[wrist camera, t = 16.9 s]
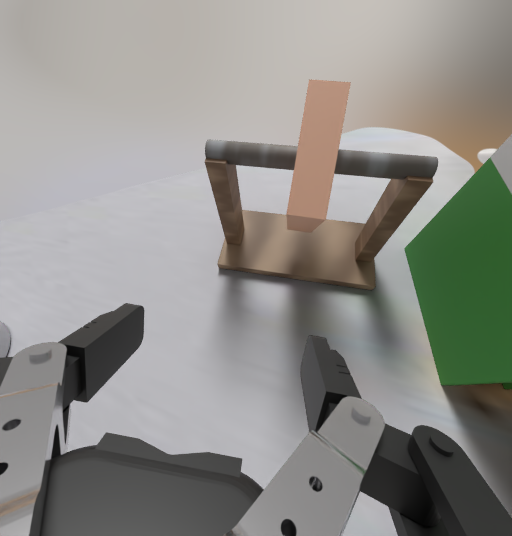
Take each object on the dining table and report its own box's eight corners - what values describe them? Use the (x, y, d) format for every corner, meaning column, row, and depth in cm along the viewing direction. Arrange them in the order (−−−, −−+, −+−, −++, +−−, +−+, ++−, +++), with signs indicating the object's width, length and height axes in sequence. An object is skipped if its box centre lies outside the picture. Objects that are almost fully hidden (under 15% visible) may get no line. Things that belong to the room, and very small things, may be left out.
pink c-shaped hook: (287, 229, 30) (286, 214, 19) (300, 148, 30) (309, 79, 18) (310, 232, 30) (325, 219, 18) (325, 151, 29) (350, 82, 17)
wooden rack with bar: (218, 268, 34) (184, 179, 20) (234, 214, 39) (215, 110, 25) (372, 290, 32) (456, 205, 17) (369, 229, 36) (434, 123, 22)
